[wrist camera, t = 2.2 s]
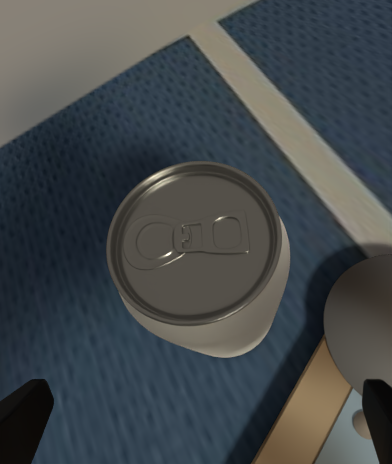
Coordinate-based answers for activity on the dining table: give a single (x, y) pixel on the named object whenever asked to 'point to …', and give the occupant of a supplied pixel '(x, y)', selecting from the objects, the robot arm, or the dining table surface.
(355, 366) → the subfloor panel
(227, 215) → the can
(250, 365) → the dining table surface
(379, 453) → the robot arm
